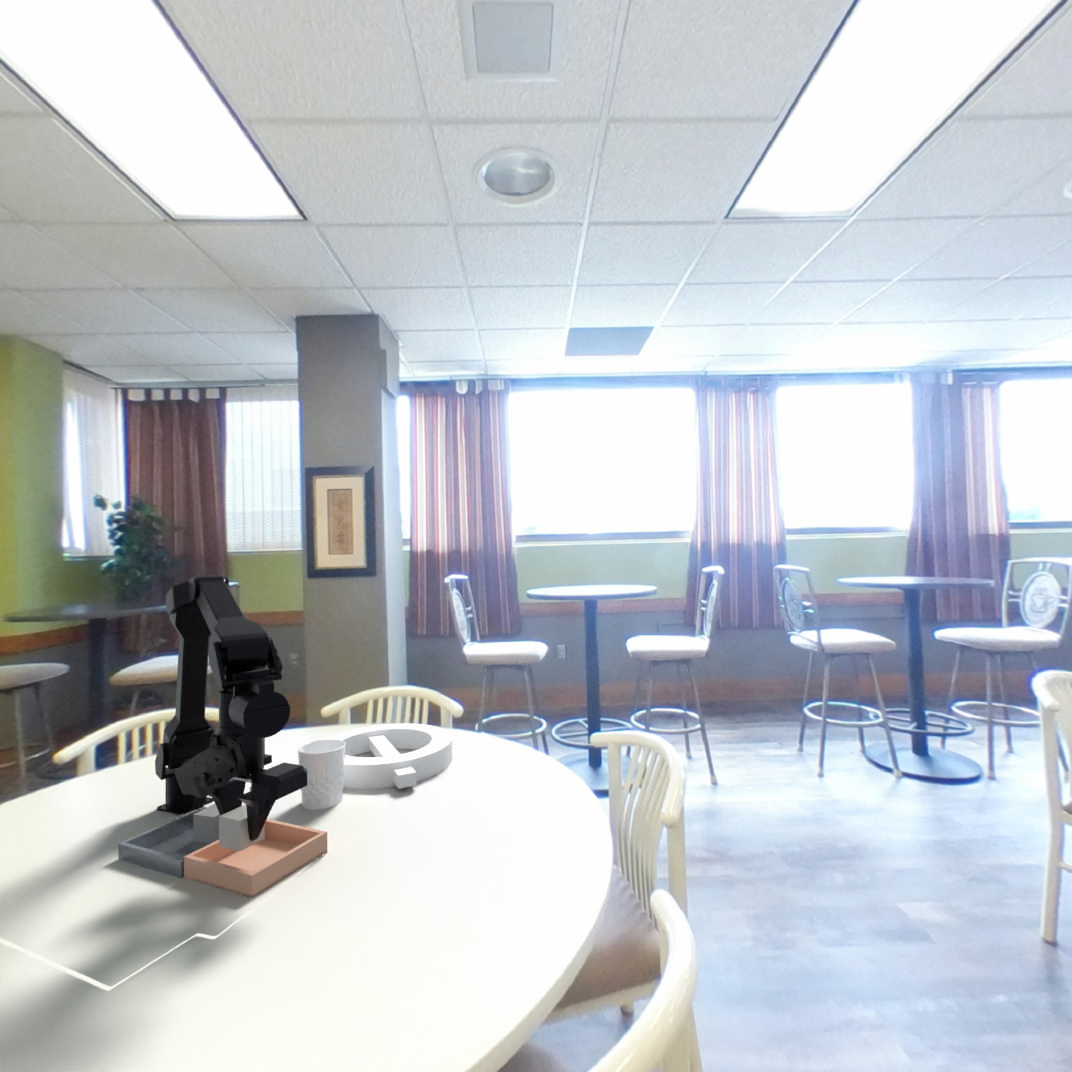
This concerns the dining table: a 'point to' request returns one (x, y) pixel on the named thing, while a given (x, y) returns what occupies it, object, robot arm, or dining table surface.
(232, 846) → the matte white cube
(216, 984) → the dining table surface
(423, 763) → the ring with crossbar
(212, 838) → the grey cube
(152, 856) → the bin
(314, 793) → the white cup
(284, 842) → the dish
